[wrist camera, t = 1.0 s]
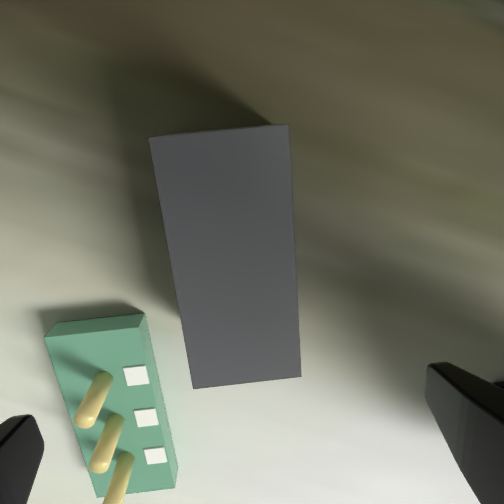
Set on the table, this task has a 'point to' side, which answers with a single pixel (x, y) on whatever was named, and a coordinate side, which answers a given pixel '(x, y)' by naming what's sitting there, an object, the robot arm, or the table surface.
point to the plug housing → (232, 250)
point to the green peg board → (115, 403)
